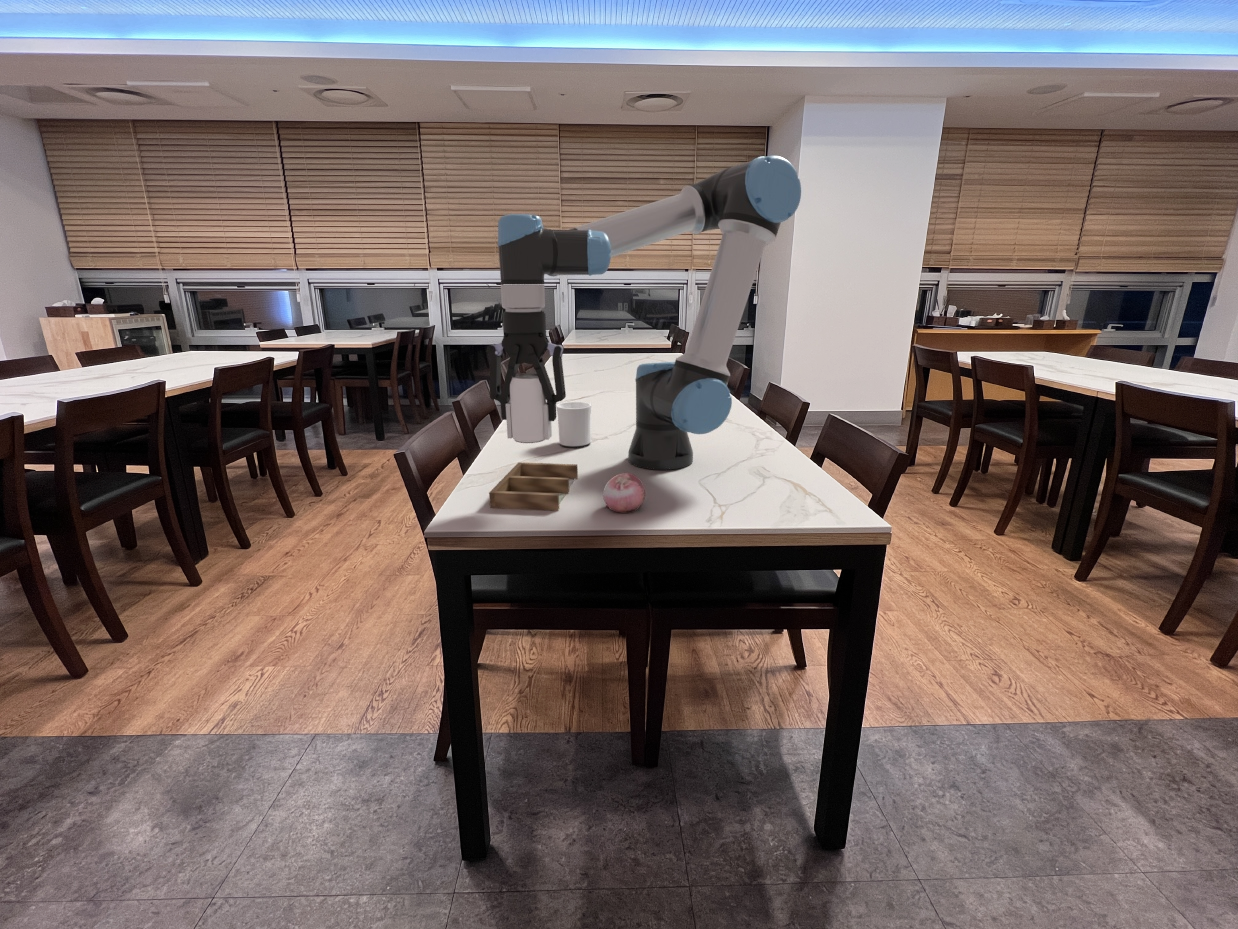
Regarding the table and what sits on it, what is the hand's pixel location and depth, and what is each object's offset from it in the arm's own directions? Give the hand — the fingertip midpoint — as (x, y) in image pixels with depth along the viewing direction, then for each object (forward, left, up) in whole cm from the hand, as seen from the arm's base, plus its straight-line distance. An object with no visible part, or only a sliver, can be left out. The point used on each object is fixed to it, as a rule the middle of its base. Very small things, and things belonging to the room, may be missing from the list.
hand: (529, 436), depth 110 cm
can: (0, 0, -1) cm, 1 cm away
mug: (0, -42, -13) cm, 44 cm away
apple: (-18, +2, -13) cm, 22 cm away
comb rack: (0, -5, -13) cm, 13 cm away
